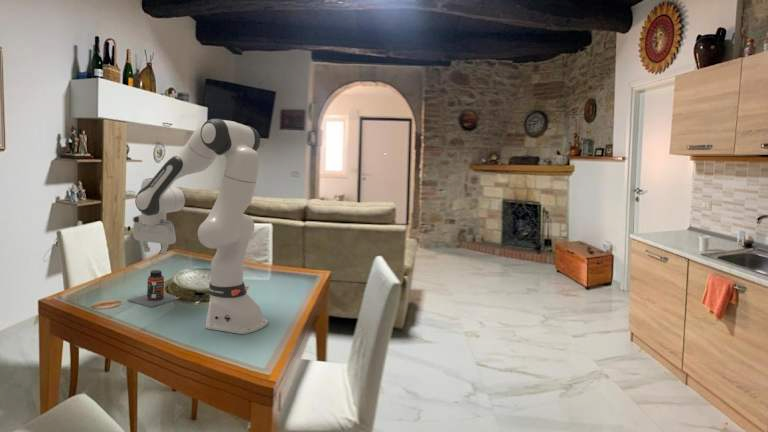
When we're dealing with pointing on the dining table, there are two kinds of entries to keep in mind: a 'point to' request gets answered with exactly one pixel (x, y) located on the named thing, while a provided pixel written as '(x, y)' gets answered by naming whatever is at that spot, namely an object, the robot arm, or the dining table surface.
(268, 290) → the dining table surface
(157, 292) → the supplement bottle
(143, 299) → the slate mat
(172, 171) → the robot arm
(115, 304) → the cork coaster
